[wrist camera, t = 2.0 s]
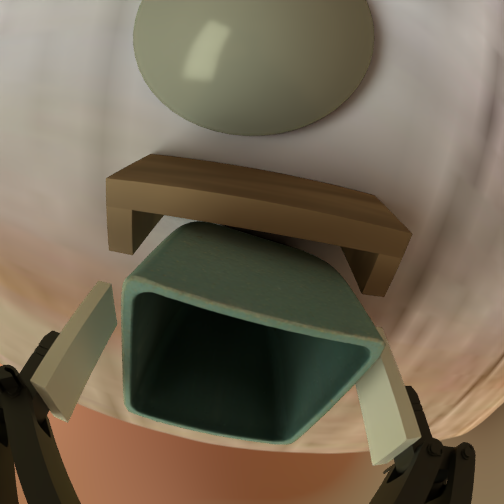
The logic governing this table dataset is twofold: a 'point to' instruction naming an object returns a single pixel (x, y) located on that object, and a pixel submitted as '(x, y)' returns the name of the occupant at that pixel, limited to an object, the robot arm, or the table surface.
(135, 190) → the frame
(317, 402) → the flower pot
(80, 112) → the table surface
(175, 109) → the olive beige round disc
